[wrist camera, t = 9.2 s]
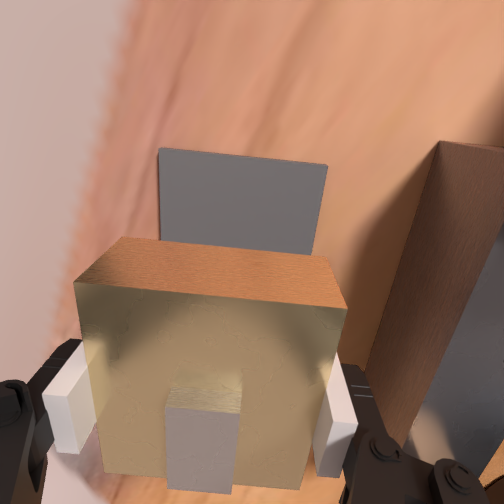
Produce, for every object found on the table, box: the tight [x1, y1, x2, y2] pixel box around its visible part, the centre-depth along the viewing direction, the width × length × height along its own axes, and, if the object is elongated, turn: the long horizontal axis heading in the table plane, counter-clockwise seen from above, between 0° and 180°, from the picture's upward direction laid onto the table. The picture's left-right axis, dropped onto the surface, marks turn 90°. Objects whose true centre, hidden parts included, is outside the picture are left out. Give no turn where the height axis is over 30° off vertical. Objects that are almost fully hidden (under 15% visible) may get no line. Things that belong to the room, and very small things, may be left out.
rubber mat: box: [159, 148, 328, 255], centre depth 22 cm, size 14×10×1 cm
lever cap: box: [73, 237, 348, 495], centre depth 12 cm, size 9×8×4 cm
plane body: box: [364, 141, 504, 478], centre depth 18 cm, size 22×6×11 cm, turn 175°
